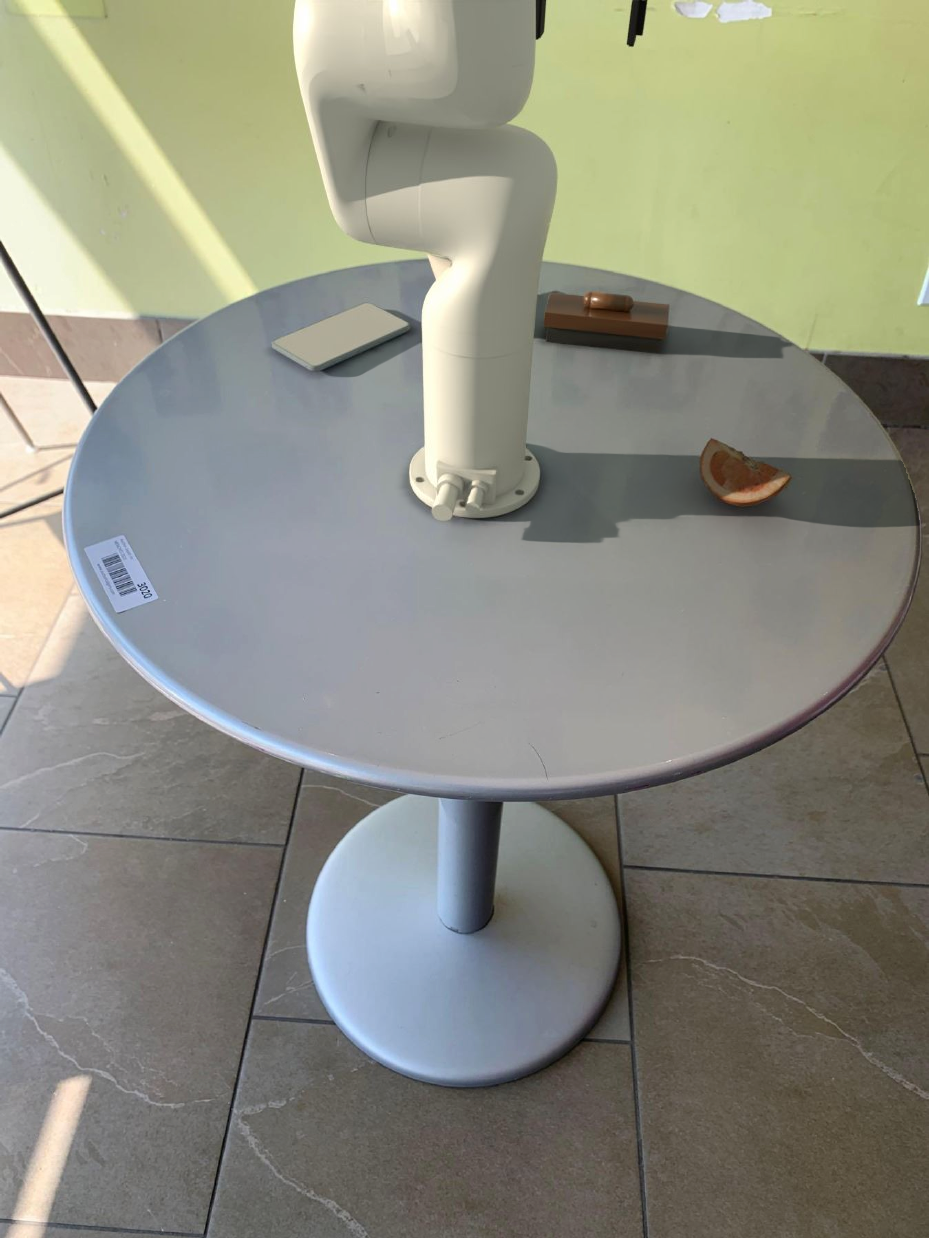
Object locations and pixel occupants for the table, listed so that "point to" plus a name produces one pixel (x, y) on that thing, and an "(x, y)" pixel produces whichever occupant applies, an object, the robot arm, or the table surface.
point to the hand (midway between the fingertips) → (584, 40)
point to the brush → (606, 321)
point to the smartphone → (340, 336)
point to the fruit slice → (739, 476)
